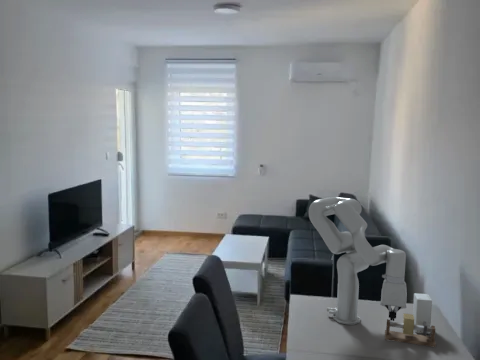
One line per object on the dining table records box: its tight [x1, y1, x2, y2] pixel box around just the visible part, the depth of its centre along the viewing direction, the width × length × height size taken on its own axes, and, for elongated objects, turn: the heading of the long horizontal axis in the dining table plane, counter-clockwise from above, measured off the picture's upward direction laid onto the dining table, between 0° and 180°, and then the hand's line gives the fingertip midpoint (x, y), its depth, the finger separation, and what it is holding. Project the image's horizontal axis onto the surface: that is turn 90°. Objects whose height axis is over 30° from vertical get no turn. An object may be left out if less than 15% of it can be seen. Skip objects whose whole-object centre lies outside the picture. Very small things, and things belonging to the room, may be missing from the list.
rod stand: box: [384, 319, 437, 348], centre depth 191 cm, size 20×6×8 cm, turn 74°
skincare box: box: [412, 292, 433, 335], centre depth 200 cm, size 8×7×16 cm
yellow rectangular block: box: [401, 313, 415, 335], centre depth 191 cm, size 4×5×7 cm
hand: (392, 319), depth 192 cm, fingers closed
